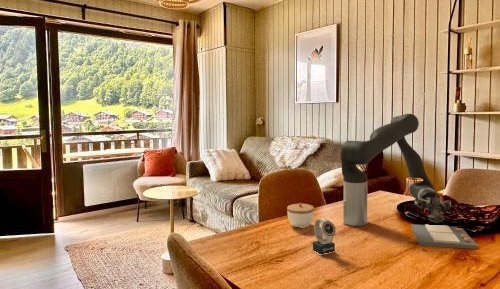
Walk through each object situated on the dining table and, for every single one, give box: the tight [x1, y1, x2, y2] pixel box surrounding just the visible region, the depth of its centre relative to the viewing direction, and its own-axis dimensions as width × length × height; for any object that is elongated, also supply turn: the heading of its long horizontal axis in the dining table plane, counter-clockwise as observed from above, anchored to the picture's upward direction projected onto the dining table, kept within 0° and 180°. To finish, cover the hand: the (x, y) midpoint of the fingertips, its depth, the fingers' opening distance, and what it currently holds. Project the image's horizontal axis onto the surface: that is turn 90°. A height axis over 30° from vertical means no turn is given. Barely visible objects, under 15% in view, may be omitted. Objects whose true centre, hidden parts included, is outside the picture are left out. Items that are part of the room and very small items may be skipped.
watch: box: [312, 217, 336, 254], centre depth 115 cm, size 6×8×11 cm
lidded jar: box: [286, 202, 315, 229], centre depth 141 cm, size 11×11×9 cm
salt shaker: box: [427, 195, 445, 223], centre depth 137 cm, size 6×6×12 cm
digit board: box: [410, 223, 478, 250], centre depth 125 cm, size 17×18×2 cm
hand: (437, 209), depth 135 cm, fingers closed on salt shaker, 3 cm apart
